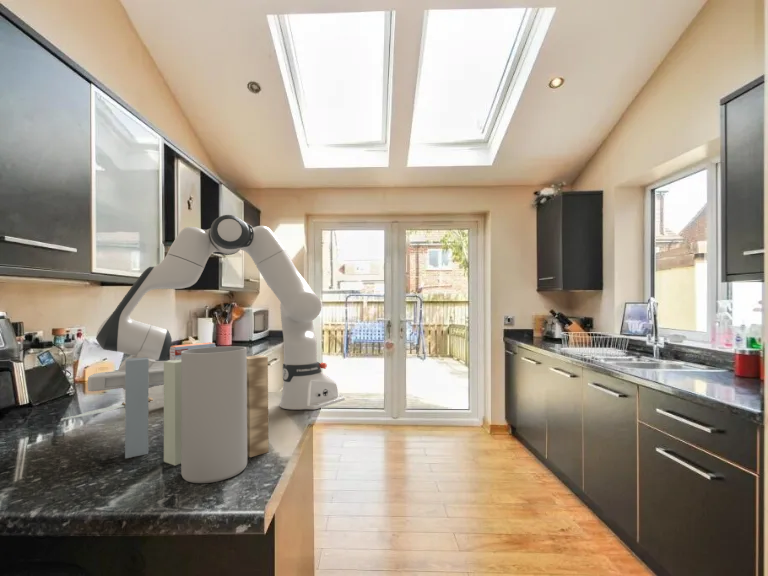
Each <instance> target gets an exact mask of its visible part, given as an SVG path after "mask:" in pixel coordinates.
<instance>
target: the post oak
mask: <svg viewBox="0 0 768 576" xmlns="http://www.w3.org/2000/svg"><path fill="white" fill-rule="evenodd" d="M268 359H269V356H265V355H259V354H258V355H247V458H248V457H249V458H252V457H256V456H259V455H260V456H261V455H262V454H267V453H269V451H270V447H269V445H270V444H269V442H270V441H269V439H270V438H269V360H268Z"/></svg>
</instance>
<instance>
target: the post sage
mask: <svg viewBox="0 0 768 576" xmlns="http://www.w3.org/2000/svg"><path fill="white" fill-rule="evenodd" d="M163 462H164V463H166V464H170V465H172V466H179V465H181V359H179V360H172V361H165V362H164V385H163Z"/></svg>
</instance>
